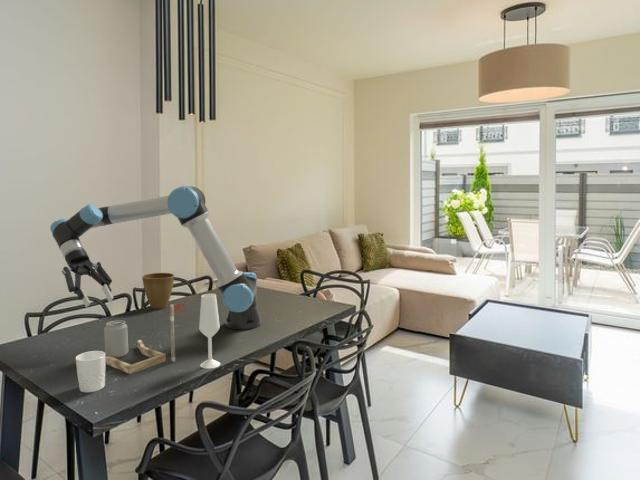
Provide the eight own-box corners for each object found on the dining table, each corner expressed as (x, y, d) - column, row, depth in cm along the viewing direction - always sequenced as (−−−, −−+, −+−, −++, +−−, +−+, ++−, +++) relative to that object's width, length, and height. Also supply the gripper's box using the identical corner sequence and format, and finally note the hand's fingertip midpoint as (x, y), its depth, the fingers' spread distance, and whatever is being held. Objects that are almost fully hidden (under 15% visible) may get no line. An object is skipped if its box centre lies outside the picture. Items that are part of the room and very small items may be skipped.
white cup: (98, 379, 139) (96, 348, 138) (112, 386, 135) (110, 354, 134) (72, 389, 133) (70, 356, 132) (86, 396, 129) (84, 362, 127)
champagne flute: (222, 360, 155) (220, 293, 152) (218, 368, 149) (216, 298, 146) (202, 360, 155) (200, 293, 152) (198, 368, 148) (196, 298, 145)
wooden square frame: (186, 357, 158) (184, 302, 155) (125, 380, 139) (122, 317, 137) (147, 343, 171) (145, 292, 168) (87, 363, 152) (84, 305, 150)
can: (119, 359, 155) (118, 326, 154) (100, 358, 157) (98, 324, 155) (132, 352, 162) (131, 319, 161) (114, 350, 164) (113, 318, 162)
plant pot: (156, 313, 212) (155, 279, 210) (136, 308, 219) (135, 276, 217) (181, 305, 224) (180, 274, 222) (162, 301, 232) (160, 271, 230)
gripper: (98, 257, 180) (122, 302, 173) (42, 264, 163) (67, 314, 156) (104, 245, 177) (130, 291, 169) (48, 251, 160) (74, 302, 153)
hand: (100, 302), depth 163 cm, fingers open, 8 cm apart
